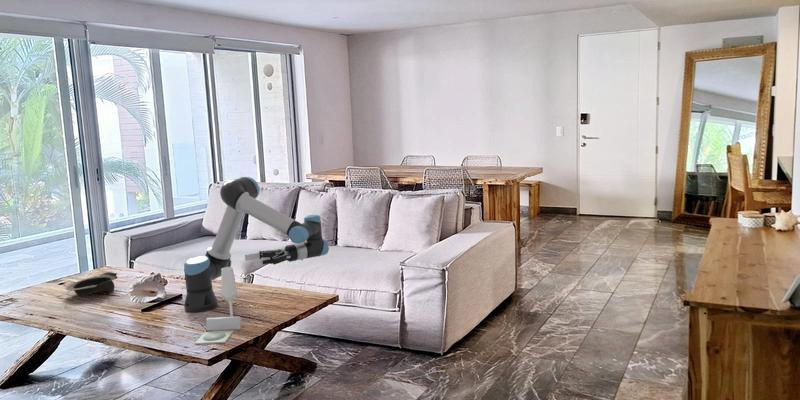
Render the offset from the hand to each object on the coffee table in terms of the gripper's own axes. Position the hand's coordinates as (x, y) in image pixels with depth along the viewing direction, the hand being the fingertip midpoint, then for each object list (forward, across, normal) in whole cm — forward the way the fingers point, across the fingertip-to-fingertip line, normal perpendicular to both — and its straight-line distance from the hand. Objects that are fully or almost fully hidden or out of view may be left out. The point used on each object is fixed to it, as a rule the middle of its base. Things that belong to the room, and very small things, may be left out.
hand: (249, 260), depth 267 cm
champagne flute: (+10, +1, -26) cm, 28 cm away
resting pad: (+22, -15, -26) cm, 37 cm away
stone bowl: (+58, +94, -25) cm, 113 cm away
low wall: (+16, -7, -26) cm, 31 cm away
